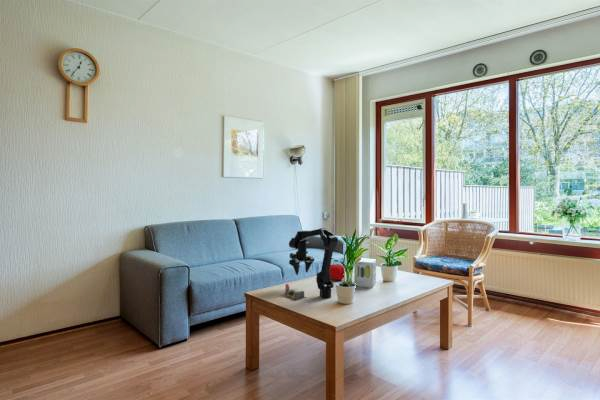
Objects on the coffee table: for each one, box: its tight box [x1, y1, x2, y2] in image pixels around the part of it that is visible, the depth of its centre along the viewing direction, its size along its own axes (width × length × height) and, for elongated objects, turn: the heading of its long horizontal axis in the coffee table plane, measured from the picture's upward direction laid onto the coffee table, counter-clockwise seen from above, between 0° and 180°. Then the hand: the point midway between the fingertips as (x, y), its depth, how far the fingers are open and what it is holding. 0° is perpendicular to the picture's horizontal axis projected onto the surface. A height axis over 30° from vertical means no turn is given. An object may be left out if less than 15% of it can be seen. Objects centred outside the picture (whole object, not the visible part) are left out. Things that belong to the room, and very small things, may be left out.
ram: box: [284, 283, 295, 296], centre depth 226 cm, size 5×5×6 cm
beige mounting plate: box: [278, 290, 307, 302], centre depth 223 cm, size 14×10×5 cm
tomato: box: [329, 263, 345, 281], centre depth 267 cm, size 12×13×12 cm
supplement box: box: [353, 257, 377, 289], centre depth 254 cm, size 13×13×18 cm
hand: (301, 273), depth 238 cm, fingers open, 9 cm apart
